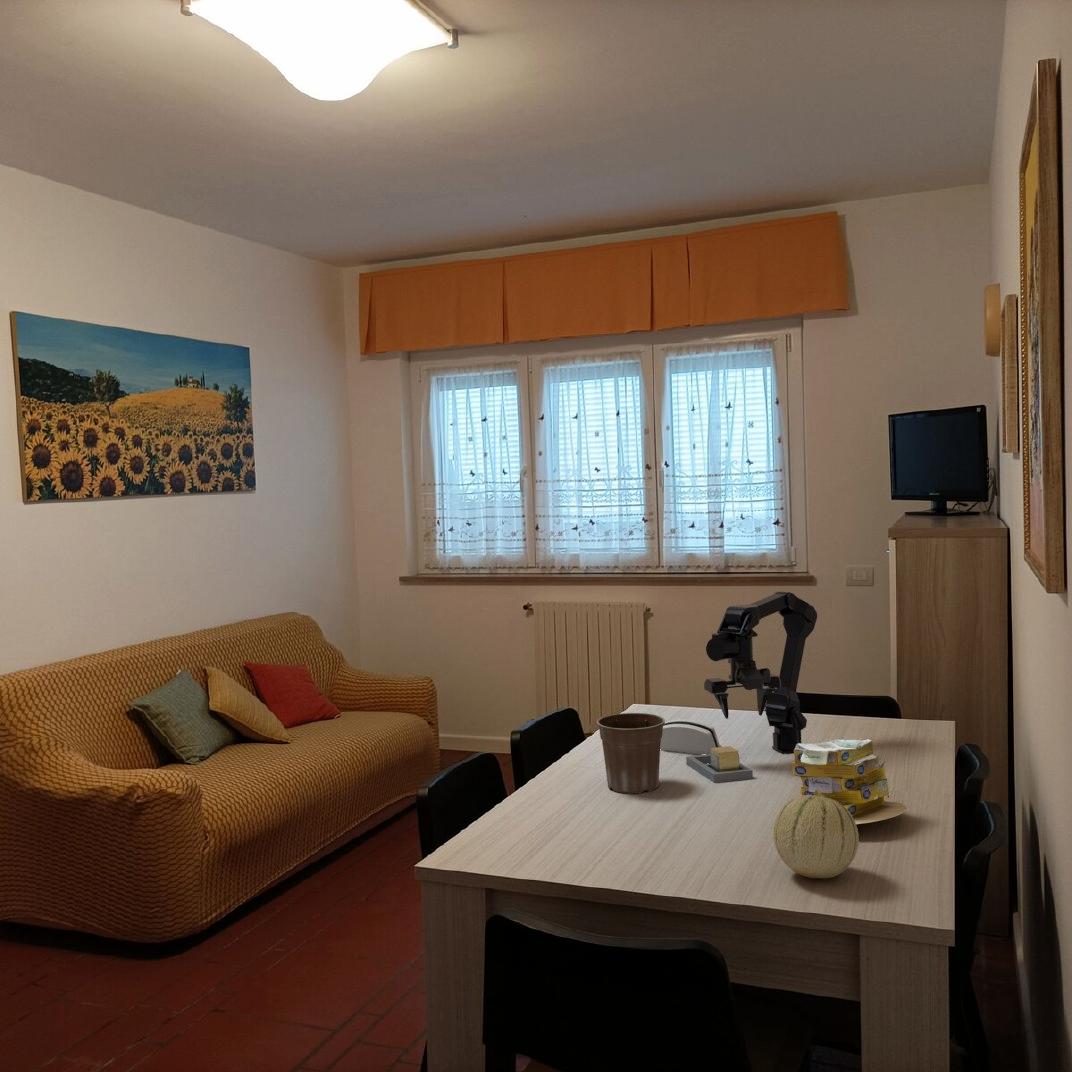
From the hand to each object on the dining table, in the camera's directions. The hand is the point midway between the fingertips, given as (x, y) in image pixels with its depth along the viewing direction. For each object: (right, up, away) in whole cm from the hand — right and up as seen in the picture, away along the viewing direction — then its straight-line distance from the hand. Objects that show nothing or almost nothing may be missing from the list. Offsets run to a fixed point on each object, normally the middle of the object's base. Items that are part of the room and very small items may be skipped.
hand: (743, 716), depth 260 cm
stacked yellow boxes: (+12, -14, -46) cm, 50 cm away
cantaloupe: (-2, -15, -76) cm, 78 cm away
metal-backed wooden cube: (-6, -13, -9) cm, 17 cm away
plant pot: (-29, -14, -16) cm, 36 cm away
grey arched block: (-12, -12, +14) cm, 22 cm away
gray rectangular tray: (-7, -13, -5) cm, 16 cm away
